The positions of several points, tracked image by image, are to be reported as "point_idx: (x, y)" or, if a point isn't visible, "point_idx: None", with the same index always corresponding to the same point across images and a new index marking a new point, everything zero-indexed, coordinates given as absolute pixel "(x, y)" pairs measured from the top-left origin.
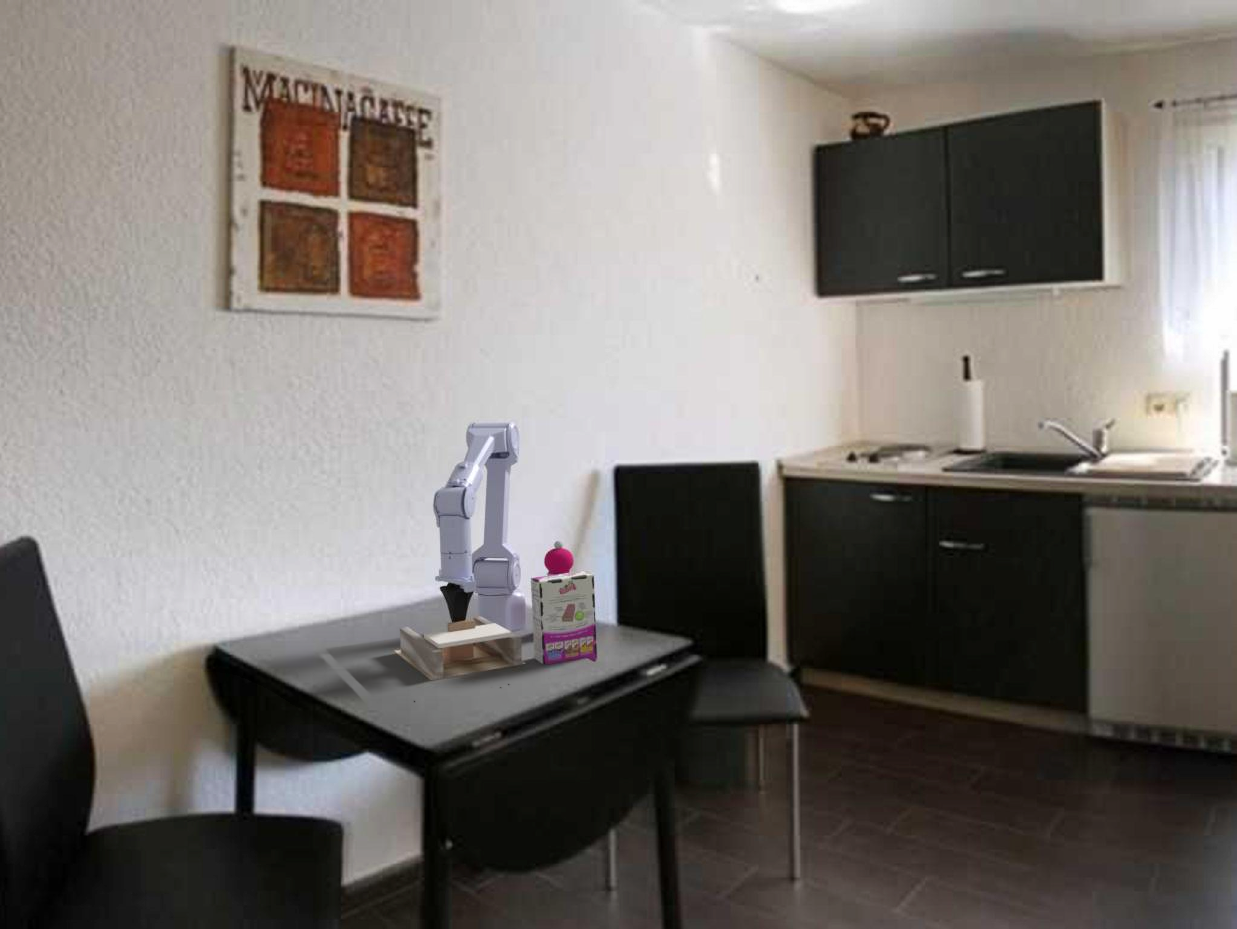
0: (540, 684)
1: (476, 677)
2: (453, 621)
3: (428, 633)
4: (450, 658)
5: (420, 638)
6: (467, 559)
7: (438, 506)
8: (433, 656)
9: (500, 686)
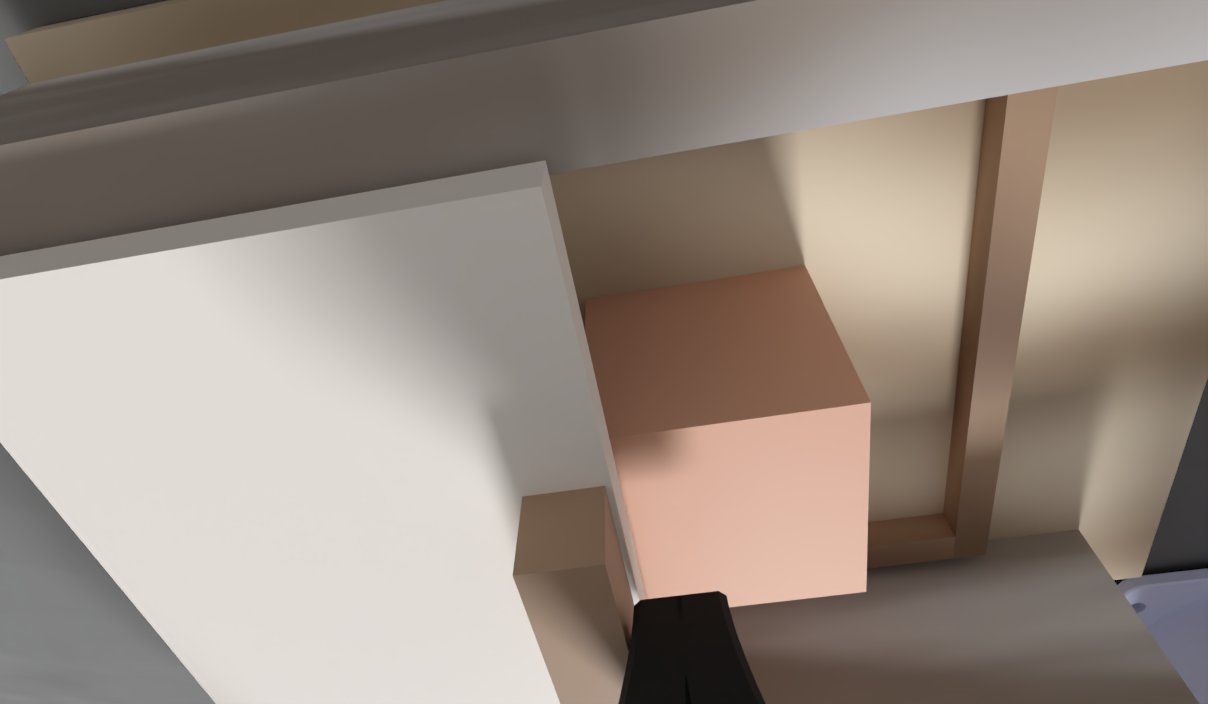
0: (62, 634)
1: None
2: (640, 630)
3: (549, 256)
4: (591, 312)
5: (620, 109)
6: None
7: None
8: None
9: (22, 477)
